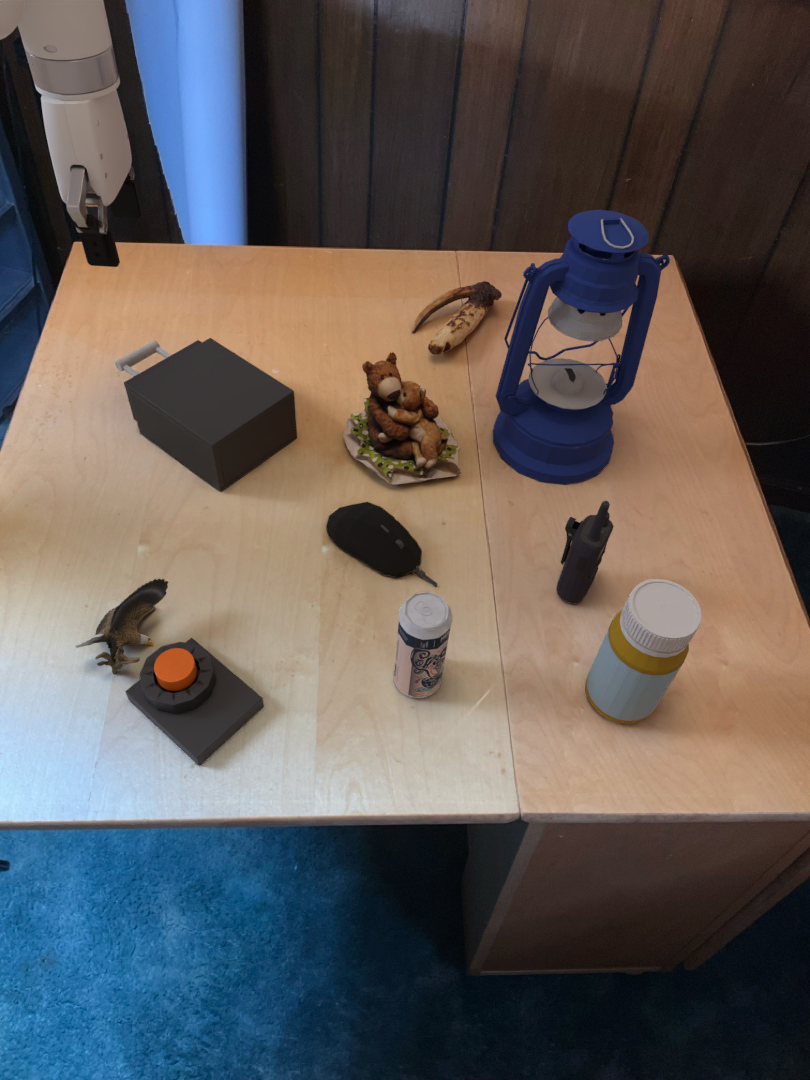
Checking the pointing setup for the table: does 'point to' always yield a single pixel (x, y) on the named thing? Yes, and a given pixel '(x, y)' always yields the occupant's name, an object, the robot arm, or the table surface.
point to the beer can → (421, 644)
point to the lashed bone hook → (459, 314)
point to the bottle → (643, 650)
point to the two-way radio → (583, 554)
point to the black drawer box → (214, 413)
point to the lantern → (585, 314)
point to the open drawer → (140, 355)
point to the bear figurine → (400, 430)
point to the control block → (196, 703)
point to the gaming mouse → (375, 539)
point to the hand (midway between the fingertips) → (116, 239)
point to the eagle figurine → (127, 624)
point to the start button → (175, 669)
